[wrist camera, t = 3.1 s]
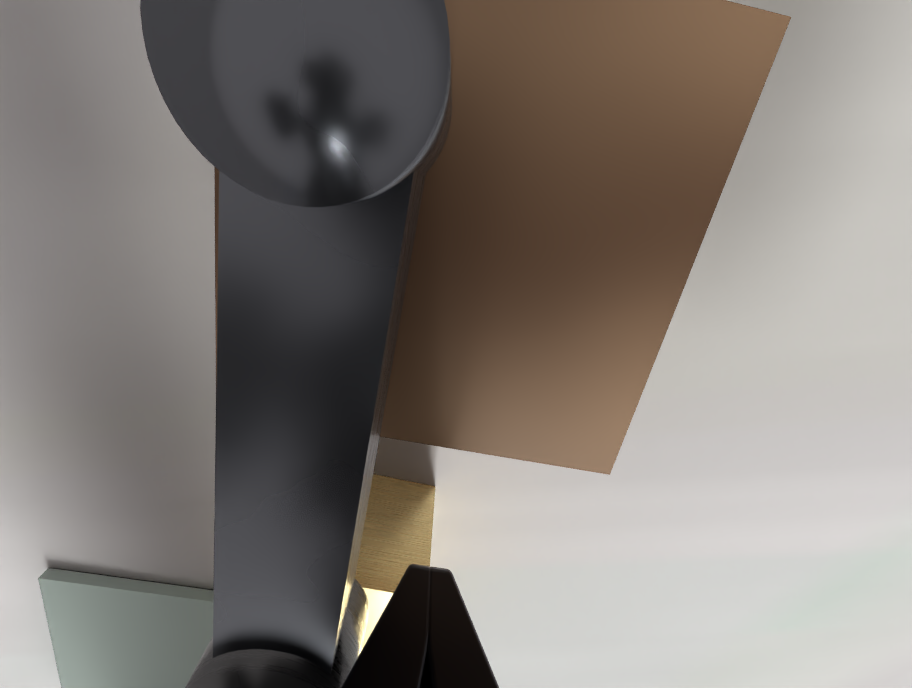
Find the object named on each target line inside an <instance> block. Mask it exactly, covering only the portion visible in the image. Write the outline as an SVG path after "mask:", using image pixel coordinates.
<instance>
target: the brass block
mask: <svg viewBox="0 0 912 688" xmlns="http://www.w3.org/2000/svg"><path fill="white" fill-rule="evenodd" d="M434 497H435V486H430V485H425V484H420V483H415V482H410V481H405V480H401V479H396V478H391V477H386V476H381V475H376V474H373V477H372V483H371V489H370V495H369V500H368V506H367V512H366V517H365V523H364V529H363V534H362V540H361V546H360V552H359V557H358V563H357V569H356V574H355V579H356V580H357V581H358V583H359V584H360V585H361V586H362V588H363V589H364V591H365V593H366V595H367V598H368V602H369V616H368V621H367V626H366V631H365V636H364V641H363V646H362V649H363V647H364V645H365V644H366V642H367V640H368V638H369V636H370V634H371V633H372V631H373V629H374V627H375V625H376V624H377V622H378V620H379V618H380V616H381V615H382V613H383V611H384V609H385V607H386V606H387V604H388V602H389V600H390V598H391V596H392V595H393V593H394V591H395V589H396V587H397V586H398V584H399V582H400V580H401V578H402V577H403V575H404V573H405V571H406V569H407V568H408V566H409V565H410V564H418V565H424V566H429V567H430V553H431V539H432V525H433V511H434Z"/></svg>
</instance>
